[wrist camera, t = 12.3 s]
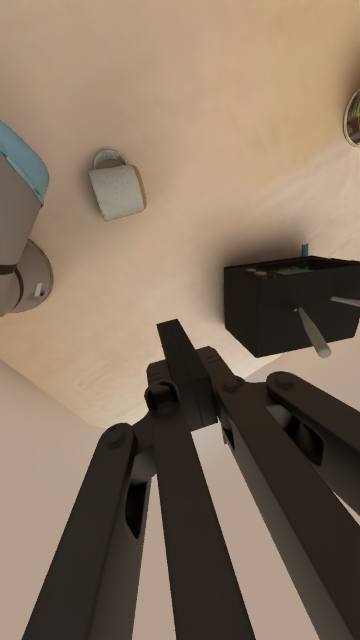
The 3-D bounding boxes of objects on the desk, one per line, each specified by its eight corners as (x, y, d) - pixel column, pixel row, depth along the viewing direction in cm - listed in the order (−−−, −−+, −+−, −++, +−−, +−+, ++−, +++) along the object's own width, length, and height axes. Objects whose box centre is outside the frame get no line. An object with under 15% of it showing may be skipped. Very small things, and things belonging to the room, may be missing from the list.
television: (306, 338, 58) (291, 265, 59) (470, 339, 29) (435, 194, 30) (227, 353, 54) (213, 275, 56) (322, 372, 25) (289, 205, 26)
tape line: (299, 317, 60) (300, 318, 60) (302, 245, 52) (302, 245, 52) (304, 316, 60) (305, 316, 60) (307, 244, 52) (308, 244, 52)
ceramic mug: (147, 212, 42) (150, 206, 35) (106, 223, 41) (102, 219, 34) (128, 148, 38) (128, 127, 31) (83, 159, 37) (72, 140, 30)
